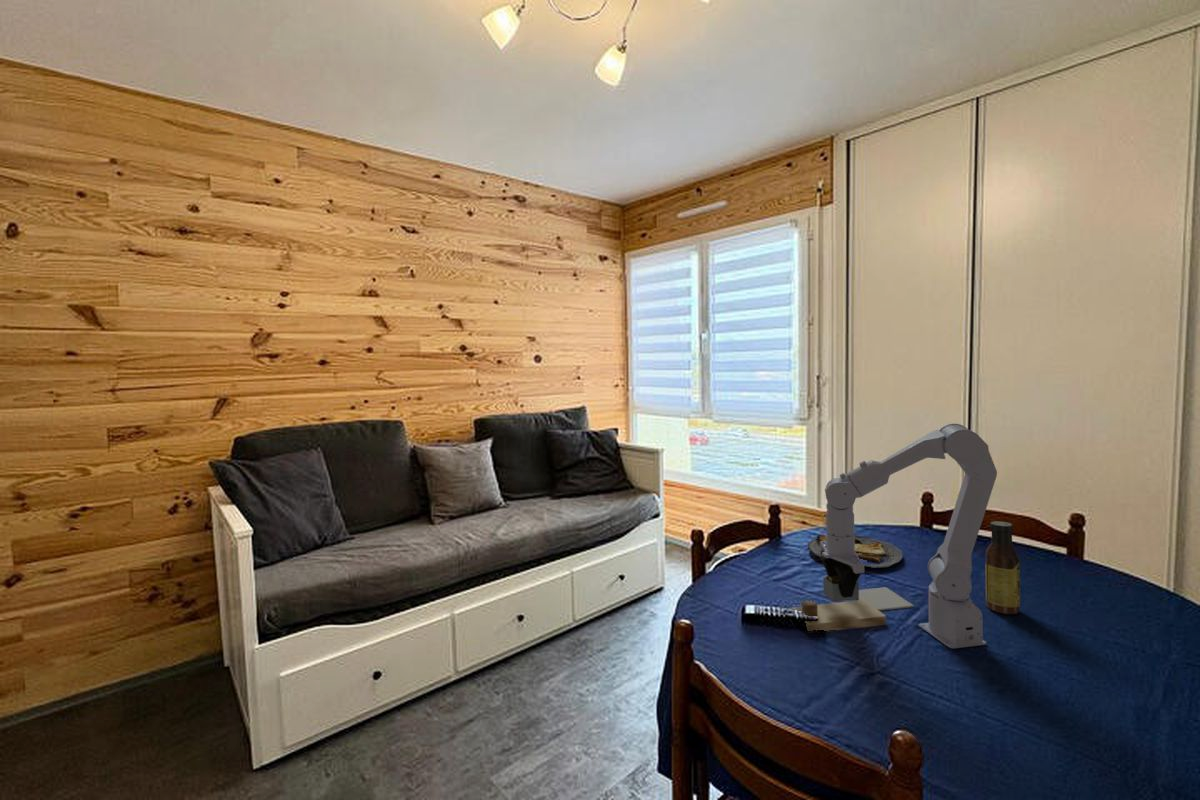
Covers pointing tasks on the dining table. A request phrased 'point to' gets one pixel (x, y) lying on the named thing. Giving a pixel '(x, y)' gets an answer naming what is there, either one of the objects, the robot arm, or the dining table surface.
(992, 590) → the sauce bottle
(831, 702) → the dining table surface
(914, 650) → the dining table surface
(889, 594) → the rubber mat
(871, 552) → the food plate
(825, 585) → the grey block
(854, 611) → the body
